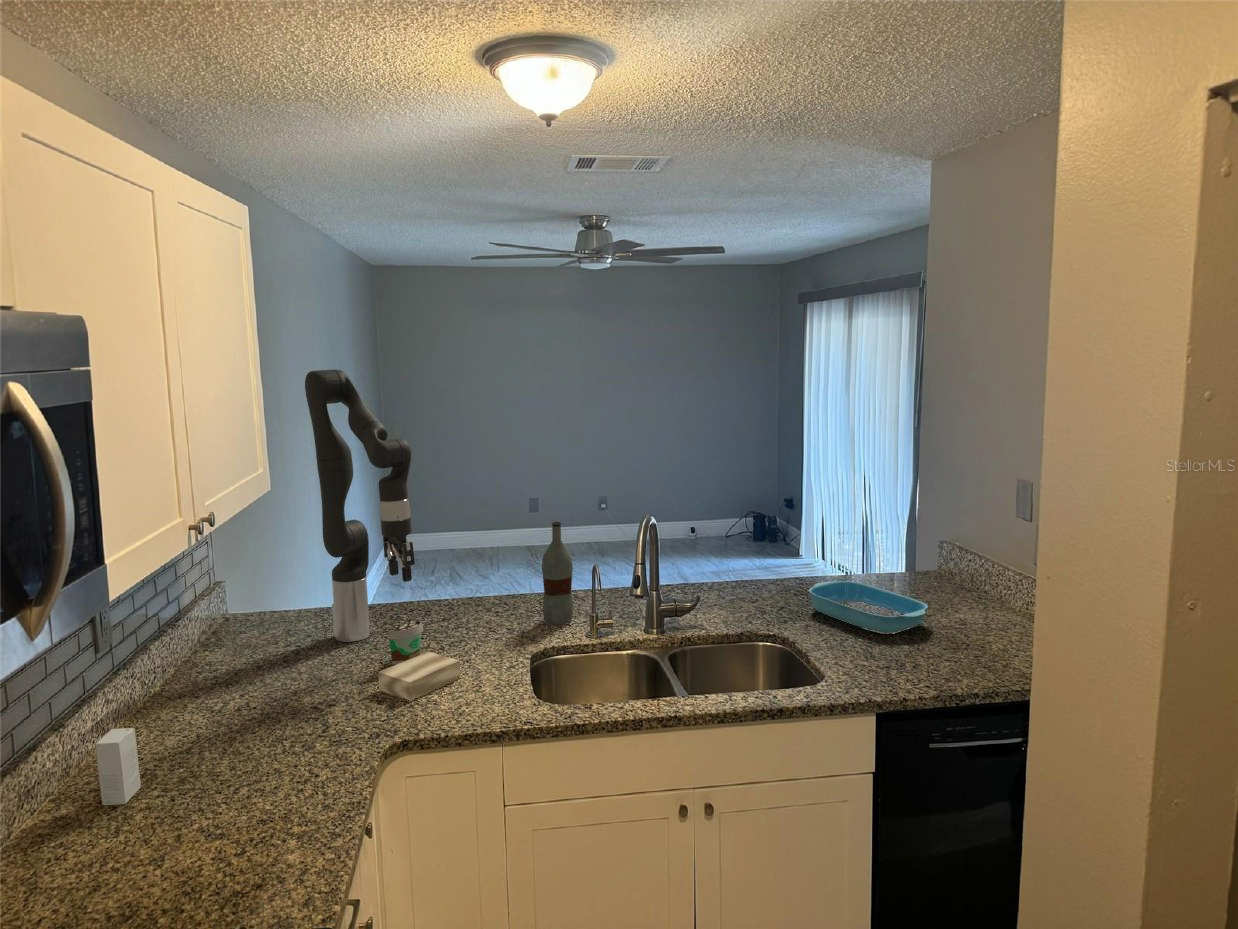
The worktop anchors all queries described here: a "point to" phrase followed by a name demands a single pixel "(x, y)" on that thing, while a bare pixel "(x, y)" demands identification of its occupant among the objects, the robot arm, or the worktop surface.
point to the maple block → (419, 675)
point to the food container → (405, 641)
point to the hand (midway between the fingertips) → (400, 577)
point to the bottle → (557, 580)
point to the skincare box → (118, 766)
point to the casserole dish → (849, 591)
